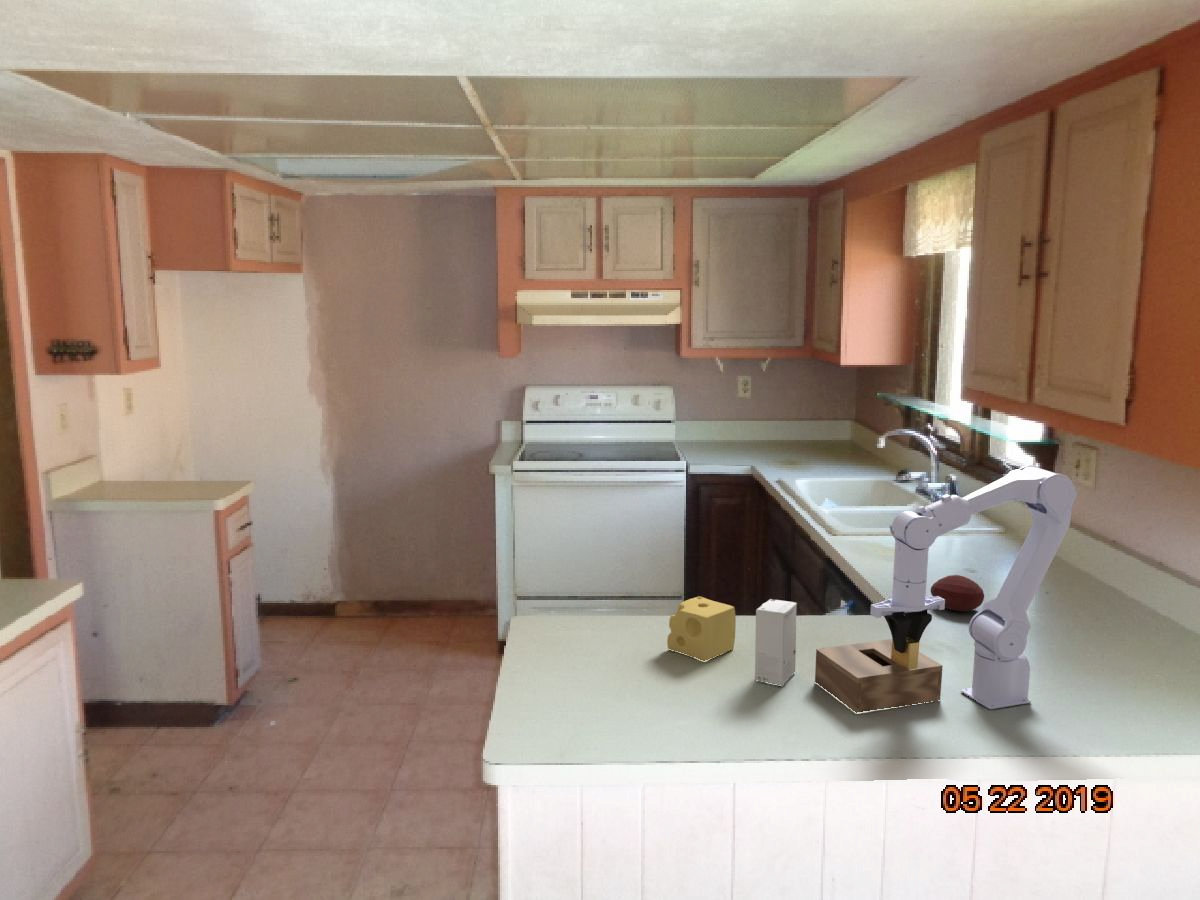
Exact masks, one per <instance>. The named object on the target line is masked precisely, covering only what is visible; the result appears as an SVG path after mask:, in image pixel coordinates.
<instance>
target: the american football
mask: <svg viewBox="0 0 1200 900" xmlns="http://www.w3.org/2000/svg"><path fill="white" fill-rule="evenodd" d="M930 595H931V597H935V596H939V597H941V598H943V599H945V608H946V609H949V610H952V611H957V612H970V611H974V610H976V609H977V608H979V607H980V606H981V605H982V604H983V602H984V600H985V593H984V590H983V588H982V587H981V586H980V585H979V584H978V583H977V582H975V581H974V580H972V579H971V578H968V577H966V576H963V575H960V574H954V575H953V574H952V575H951V574H950V575H947V576H945V577H942V578H940V579H938V580H936V581H935V582H934V583H933V584H932V585H931V586H930Z"/></svg>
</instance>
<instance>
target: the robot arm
mask: <svg viewBox="0 0 1200 900" xmlns="http://www.w3.org/2000/svg"><path fill="white" fill-rule="evenodd" d="M1077 497H1078V493H1077V491H1076V488H1075V486H1074V483H1073V482H1072V480H1071V479H1070V477H1068V476H1067V475H1065V474H1061V473H1056V472H1053V471H1050V470H1047V469H1044V468H1040V467H1039V466H1036V465H1033V464H1027V465H1024V466H1022V467H1020V468H1018V469H1013V470H1010V471H1009V472H1008V473H1007V474H1006V475H1005V476H1003V477H1001V478H999V479H997V480H995V481H992V482H991V483H989V484H987V485H985V486H983V487H982V488H979V489H977V490H975V491H973V492H971V493H968V494H967V495H965V496H963V497H961V496H959V495H956V494H951V495H950V494H948V493H944V495H943V494H942V495H941V496H940V499H939V500H937V501H935V502H932V503H930V504H928V505H925V506H923V505H919V506H918V507H916V508H917V510H915V511H912V510H905V511H901V512H900V513H898V514H897V515H896V516H895V518H894V519H893V521H892V523H891V524H890V525H889V531H890V534H891V535H892V537H893V538H894V540H895V541H894V553H893V554H894V555H893V557H894V558H893V575H892V589H891V590H892V591H891V596H890V598H889V599H886V600H884V601H881V602H878V603H872V604H870V616H872V617H875V618H876V619H880V618H882V617H884V620H885V621H886V623H887V626H888V628H889V631H890V633H891V637H892V638H893V643H894V649H895V650H896V651H898V652H900V653H904V651H905V647H906V638H907V636H909V637H911V638H913V639H914V640H916V641H918V642H919V643H920V641H921V639H922V636H923V634H924V632H925V630H926V628H927V627H928V626H929V624H930V623H931V622H932V620H933V614H931V613H930V612H928V611H930V610H931V611H932V610H939V611H941V610H945V608H946V607H945V599H943V598H941V597H939V596H935V597H933V596H926V594H927V579H928V578H927V577H928V563H929V548H930V547H931V546H933V544H934V543H935V541H936V539H937V538H938V537H940V536H943V535H945V534H947V533H950V532H952V531H954V530H957V529H958V528H961V527H963V526H966V525H968V524H969V523H970V520H971V518H972V515H975V514H978V513H980V512H983V511H986V510H988V509H992V508H994V507H998V506H1000V505H1003V504H1005V503H1008V502H1010V501H1018V502H1022V503H1023V504H1024V505H1025V506H1026V508H1027V509H1028V510H1029V513H1030V515H1031V517H1032V520H1033V524H1032V526H1031V528H1030V529H1029V531H1028V534H1027V535H1026V538H1025V540H1024V542H1023V544H1022V545H1021V548H1020V549H1019V551H1018V554H1017V555H1016V558H1015V560H1014V561H1013V564H1012V566H1011V568H1010V569H1009V571H1008V573H1007V575H1006V577H1005V579H1004V581H1003V584H1002V586H1001V588H1000V589H999V592H998V594H997V596H996V597H995V598H992V599H989V600H987V601H986V602H984V603H983V605H982V607H981V609H980V610H979V611H978V612H976V613H975V614H974V615H973V616H972V617H971V619H970V621H969V623H968V633H969V636H970V637H971V639H973V640H974V643H973V646H974V655H973V656H974V657H973V669H972V680H971V681H972V683H971V687H968V688H962V689H961V690H960V692H961V693H962V694H963V693H964V695H965V696H967V697H968V696H969V697H968V698H970V699H972V700H973V699H974V700H973V701H975V700H976V701H975V702H977V703H978V704H980V705H982V706H983V707H985V708H987V709H988V710H995V709H1000V708H1007V707H1008V708H1009V707H1012V706H1017V705H1019V706H1020V705H1024V704H1025V705H1026V704H1031V703H1032V699H1030V698H1029V690H1030V689H1029V688H1030V679H1031V678H1030V676H1031V675H1030V674H1031V667H1030V666H1031V665H1030V662H1029V659H1028V658H1027V656H1026V655H1025V654H1024V652H1025V651H1026V648H1027V641H1028V638H1027V637H1028V634H1029V631H1031V623H1030V620H1029V617H1028V614H1027V611H1028V609H1029V607H1030V605H1031V603H1032V601H1033V599H1034V597H1035V596H1036V594H1037V591H1038V590H1039V587H1040V586H1041V583H1042V582H1043V579H1044V578H1045V576H1046V574H1047V572H1048V570H1049V567H1050V566H1051V563H1052V562H1053V560H1054V557H1055V556H1056V554H1057V552H1058V549H1059V548H1060V546H1061V544H1062V542H1063V540H1064V538H1065V536H1066V534H1067V532H1068V530H1069V528H1070V525H1071V521H1072V519H1071V518H1072V507H1073V504H1074V503H1075V501H1076V499H1077ZM892 638H891V639H892Z"/></svg>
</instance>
